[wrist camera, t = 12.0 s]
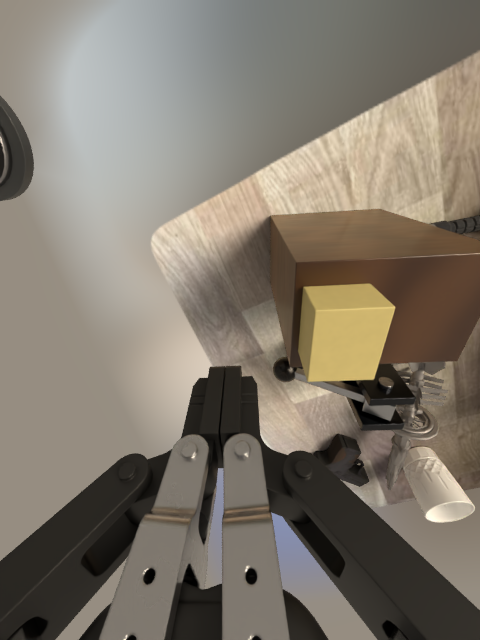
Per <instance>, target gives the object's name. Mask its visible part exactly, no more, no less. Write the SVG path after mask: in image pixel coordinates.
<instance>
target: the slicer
mask: <svg viewBox="0 0 480 640" xmlns="http://www.w3.org/2000/svg"><path fill="white" fill-rule="evenodd" d="M298 368H300V369H303V367H298ZM340 382H342V383H345V384H348V385H352V386H355V387H358V388H360V390H361V392H362V393H363V395H364V397H365V399H366V401H367V403H368V405H369V406H385V405H413V404H414V402H415V400H416V397H415V396H414V394H413V393H412V392H411V390H410V389H409V387H408V386H407V385H406V383H405V382H404V381H403V379H402V378H401V377H400V375H399V374H398V373H397V371H396V370H395V369H394V367H393V366H392V365H391V364H378V368H377V371H376V374H375V378H374V379H373V380H350V381H340ZM347 399H348V402H349V404H350V406H351V408H352V411H353V413H354V415H355V417H356V420H357V422H358V424H359V426H360V428H361V430H362V431H368V430H402V429H403V427H404V425H405V423H404V422H403V420H402V419H401V417H400V415H399V414H398V412H397V411H396V409H395V411H394V413H393V416H392V419H391V421H389V420H386V419H383V418H380V417H378V416H375V415H372V414H369V413H367V412H364V411H362V409H363V405H364V403H363V402H360V401H357V400H354V399H351V398H349V397H347Z"/></svg>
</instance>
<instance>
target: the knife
mask: <svg viewBox="0 0 480 640" xmlns="http://www.w3.org/2000/svg"><path fill="white" fill-rule="evenodd" d="M429 225H432V226H435V227H438V228H441V229H445V230H448V231H451V232H454V233H457V234H464V233H469V232H474V231H479V230H480V215H479V216H474V217H470V218H464V219H459V220H454V221H449V222H447V221H441V222H436V223H431V224H429Z"/></svg>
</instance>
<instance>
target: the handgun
mask: <svg viewBox="0 0 480 640" xmlns="http://www.w3.org/2000/svg"><path fill="white" fill-rule="evenodd" d="M360 454H361V451H360V448H359V446H358V444H357V441H356V440H354V439H352V438H349V437H346V436H344V435H340V434H337V435H336V437H335V438H334V439H333V441H332V443H331V445H330V447H329V449H328V450H327V451H324V452H318V451H316V452H315V453H314V454H313V455H314V456H315V457H316V458H317V459H319V460H320V461H321V462H322V463H323V464H324V465H325V466H326V467H327V468H328V469H329V470H330V471H331V472H332V473H333V474H335V475H336V476H337V477H338V478H339V479H341V480H343V481H346V482H349V483H351V484H354V485H357V486H359V487H360V486H362V485H364V484H367V483H368V482H369V479H368V476H367V474H366V471H365V469H364V467H363V466H364V463H363V461H361V460H359V459H357V458H358V457H359V455H360ZM359 463H361V465H357V464H359Z"/></svg>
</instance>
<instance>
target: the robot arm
mask: <svg viewBox="0 0 480 640" xmlns="http://www.w3.org/2000/svg"><path fill="white" fill-rule="evenodd" d="M11 170H12V152H11V148H10V144H9V141H8V139H7V136H6V134H5V132H4V130H3V128H2V127H1V125H0V186H1V185H3V184H4V183H5V182H6V181H7V180H8V178H9V176H10V174H11ZM218 468H224V514H223V519H222V584H219V585H217V586H214V587H211V588H209V589H204V588H205V581H206V574H207V561H208V555H207V553H208V541H209V535H210V529H211V522H212V516H213V509H214V502H215V496H216V487H217V486H216V483H217V472H218ZM271 512H272V513H275V514H277V515H280V516H282V517H283V518H284V519H285V521H286V522H287V523H288V525H289V526H290V527H291V529H292V530H293V531H294V533H295V534H296V535H297V536H298V538H299V539H300V540H301V542H302V543H303V544H304V545H305V547H306V548H307V549H308V550H309V552H310V553H311V555H312V556H313V557H314V558H315V560H316V561H317V562H318V563H319V565H320V566H321V567H322V569H323V570H324V571H325V572H326V574H327V575H328V576H329V578H330V579H331V580H332V582H333V583H334V584H335V585H336V587H337V588H338V589H339V591H340V592H341V593H342V594H343V596H344V597H345V598H346V600H347V601H348V602H349V603H350V605H351V606H352V607H353V608H354V610H355V611H356V612H357V614H358V615H359V616H360V618H361V619H362V620H363V621H364V623H365V624H366V625H367V626H368V628H369V629H370V630H371V632H372V633H373V634H374V636H375V637H376V638H377V639H378V640H480V610H479V609H477V607H475V606H474V605H473V604H472V603H471V602H470V601H469V600H468V599H467V598H466V597H465V596H464V595H463V594H461V593H460V592H459V591H458V590H457V589H456V588H455V587H454V586H453V585H452V584H451V583H450V582H449V581H448V580H447V579H445V578H444V577H443V576H442V575H441V574H440V573H439V572H438V571H437V570H436V569H435V568H434V567H433V566H432V565H431V564H430V563H428V562H427V561H426V560H425V559H424V558H423V557H422V556H421V555H420V554H419V553H418V552H417V551H416V550H414V549H413V548H412V547H411V546H410V545H409V544H408V543H407V542H406V541H405V540H404V539H403V538H402V537H401V536H399V534H398V533H396V532H395V531H394V530H393V529H392V528H391V527H390V526H389V525H388V524H387V523H386V522H385V521H384V520H382V519H381V518H380V517H379V516H378V515H377V514H376V513H375V512H374V511H373V510H372V509H371V508H370V507H369V506H368V505H367V504H365V503H364V502H363V501H362V500H361V499H360V498H359V497H358V496H357V495H356V494H355V493H354V492H353V491H352V490H351V489H349V488H348V487H347V486H346V485H345V484H344V483H343V482H342V481H341V480H340V479H339V478H338V477H337V476H336V475H335V474H333V473H332V472H331V471H330V470H329V469H328V468H327V467H326V466H325V465H324V464H323V463H322V462H321V461H320V460H319V459H317V458H316V457H315V456H314V455H312V454H311V453H308V452H305V451H295V452H292V453H290V454H289V455H286V454H282V453H279V452H276V451H274V450H272V449H270V448H269V447H267V446H266V445H265V443H264V442H263V440H262V438H261V436H260V426H259V410H258V393H257V383H256V382H255V380H254V379H253V377H252V376H246V377H242V371H241V366H226V367H225V366H221V367H210V369H209V375H208V378H199V379H198V381H197V382H196V384H195V385H194V386H193V389H192V394H191V398H190V403H189V407H188V412H187V416H186V420H185V424H184V429H183V433H182V437H181V439H180V440H179V441H178V442H177V443H176V444H175V445H174V447H173V449H171V450H170V451H168V452H167V453H165V454H162V455H159V456H156V457H153V458H151V459H148V460H147V459H146V458H145V456H143V455H141V454H130V455H127V456H125V457H123V458H121V459H120V460H119V461H117V462H116V463H115V464H114V465H113V466H111V467H110V468H109V469H108V470H107V471H106V472H104V473H103V474H102V475H101V476H100V477H99V478H97V479H96V480H95V481H94V482H93V483H92V484H90V485H89V486H88V487H87V488H86V489H84V490H83V491H82V492H81V493H80V494H79V495H78V496H76V497H75V498H74V499H73V500H72V501H70V502H69V503H68V504H67V505H66V506H64V507H63V508H62V509H61V510H60V511H59V512H57V513H56V514H55V515H54V516H53V517H52V518H51V519H49V520H48V521H47V522H46V523H45V524H43V525H42V526H41V527H40V528H39V529H37V530H36V531H35V532H34V533H33V534H32V535H30V536H29V537H28V538H27V539H26V540H25V541H23V542H22V543H21V544H20V545H19V546H18V547H16V548H15V549H14V550H13V551H12V552H10V553H9V554H8V555H7V556H6V557H5V558H3V559H2V560H1V561H0V640H55V639H56V638H57V637H58V636H59V635H60V634H61V632H62V631H63V630H64V629H65V628H66V627H67V626H68V624H69V623H70V622H71V621H72V620H73V619H74V617H75V616H76V615H77V614H78V612H80V611H81V609H82V608H83V607H84V606H85V605H86V604H87V603H88V601H89V600H90V599H91V598H92V597H93V596H94V595H95V593H96V592H97V591H98V590H99V589H100V587H102V585H103V584H104V583H105V582H106V581H107V580H108V579H109V577H110V576H111V575H112V574H113V573H114V572H115V570H116V569H117V568H118V567H119V566H120V565H121V564H122V563H123V561H124V560H125V559H126V558H127V557H128V558H127V561H126V564H125V567H124V570H123V572H122V575H121V578H120V581H119V584H118V587H117V589H116V592H115V595H114V598H113V601H112V603H111V604H110V605H108V606H107V607H106V608H105V609H104V610H103V611H102V612H101V613H100V614H99V615H98V616H97V618H96V619H95V620H94V621H93V622H92V624H91V625H90V626H89V627H88V629H87V630H86V631H85V633H84V634H83V635H82V636H81V638H80V639H79V640H328V638H327V637H326V635H325V633H324V632H323V630H322V629H321V627H320V626H319V624H318V623H317V621H316V620H315V618H314V617H313V616H312V614H311V613H310V612H309V610H308V609H307V608H306V607H305V606H304V605H303V604H302V603H301V602H300V601H299V600H298V599H297V598H296V597H294V596H293V595H292V594H290V593H288V592H287V591H285V590H283V589H282V582H281V576H280V569H279V561H278V554H277V547H276V541H275V534H274V527H273V520H272V515H271ZM154 576H155V577H154Z"/></svg>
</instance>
